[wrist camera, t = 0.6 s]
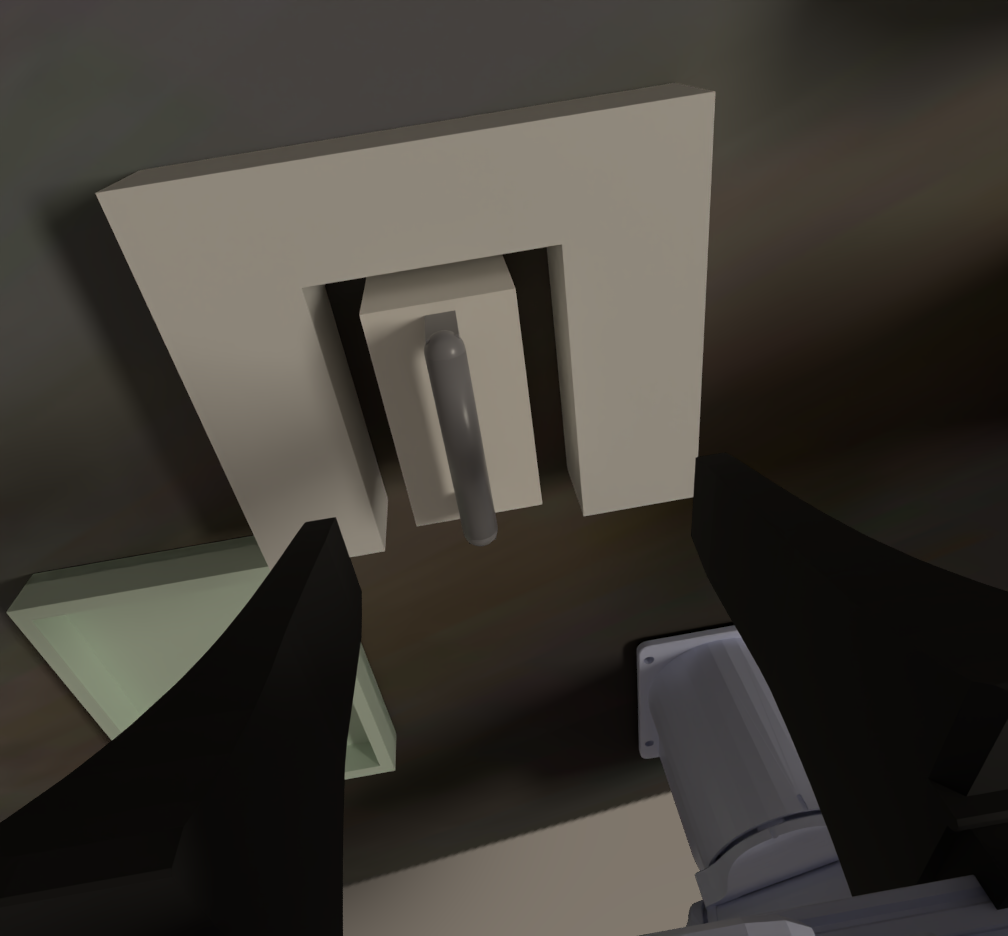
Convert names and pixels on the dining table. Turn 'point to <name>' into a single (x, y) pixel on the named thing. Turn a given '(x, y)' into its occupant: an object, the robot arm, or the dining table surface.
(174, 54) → the dining table surface
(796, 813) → the robot arm
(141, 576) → the tray
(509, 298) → the block with grey handle
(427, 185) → the bay
